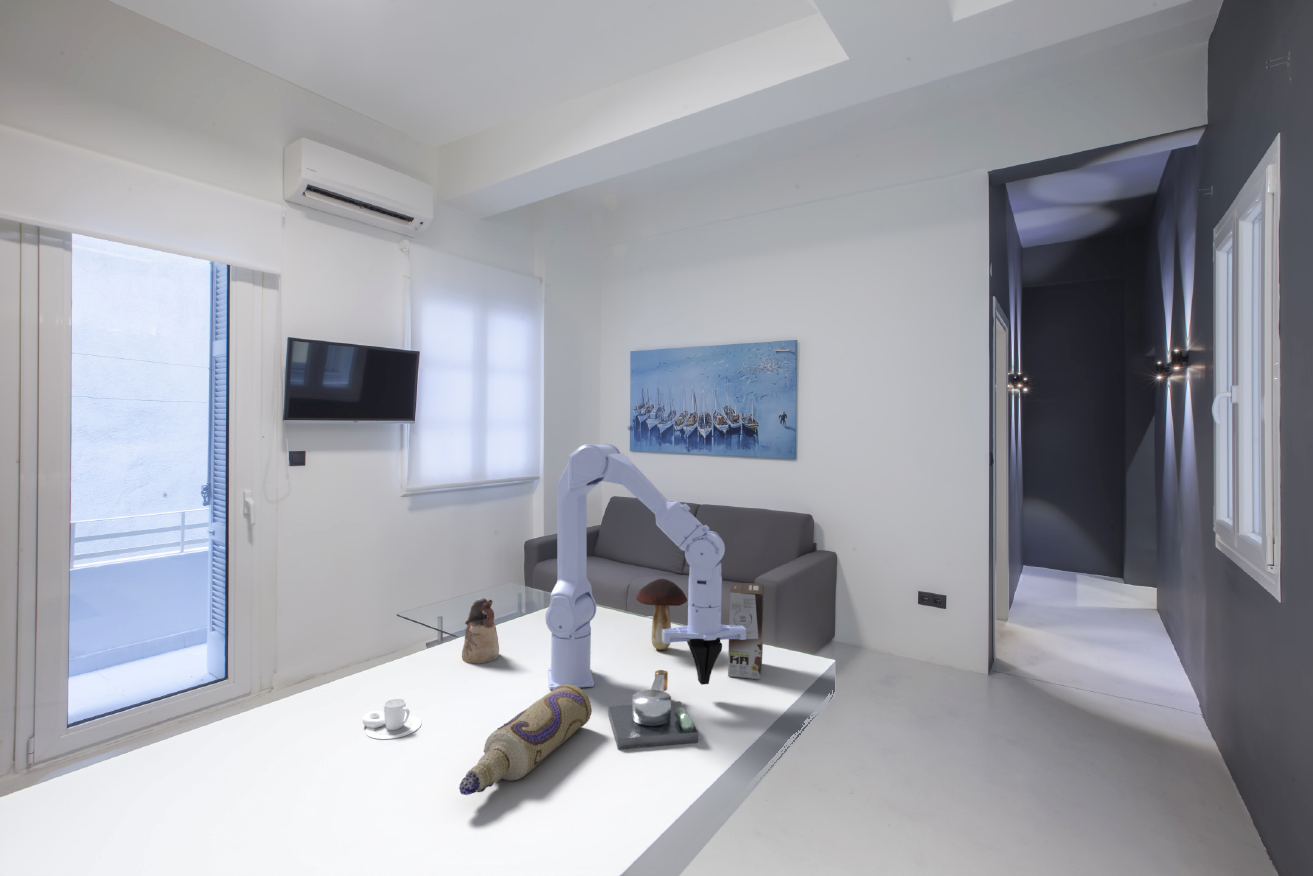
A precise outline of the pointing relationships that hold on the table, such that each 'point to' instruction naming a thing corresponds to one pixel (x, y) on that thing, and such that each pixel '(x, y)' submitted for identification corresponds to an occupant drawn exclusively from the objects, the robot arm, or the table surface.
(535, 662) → the table surface
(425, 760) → the table surface
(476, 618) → the figurine
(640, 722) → the silver pan
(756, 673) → the coffee box
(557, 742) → the decorative bottle
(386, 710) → the teacup and saucer
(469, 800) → the table surface
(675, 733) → the plate
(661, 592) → the decorative mushroom
